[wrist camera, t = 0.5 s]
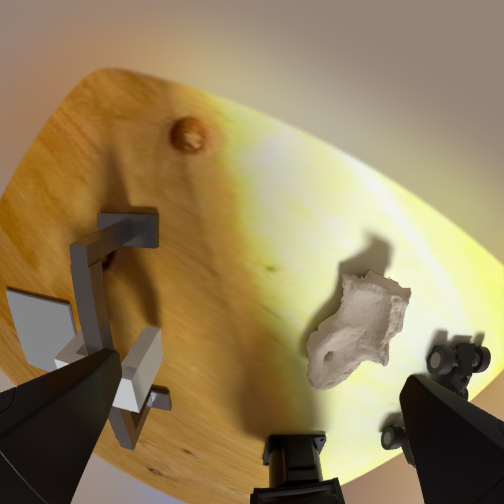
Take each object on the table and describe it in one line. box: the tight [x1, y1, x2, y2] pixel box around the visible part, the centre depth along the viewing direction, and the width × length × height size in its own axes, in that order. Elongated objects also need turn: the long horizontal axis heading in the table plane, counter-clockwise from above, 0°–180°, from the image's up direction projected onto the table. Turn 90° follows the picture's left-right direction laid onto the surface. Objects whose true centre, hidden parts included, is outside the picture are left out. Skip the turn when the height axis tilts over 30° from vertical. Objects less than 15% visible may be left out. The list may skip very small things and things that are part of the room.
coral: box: [306, 270, 411, 390], centre depth 20 cm, size 6×10×4 cm, turn 164°
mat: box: [6, 289, 77, 372], centre depth 24 cm, size 10×10×1 cm
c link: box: [54, 326, 163, 413], centre depth 18 cm, size 3×6×6 cm, turn 85°
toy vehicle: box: [381, 343, 491, 468], centre depth 21 cm, size 8×15×9 cm, turn 169°
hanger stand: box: [70, 212, 172, 450], centre depth 19 cm, size 19×5×7 cm, turn 175°
